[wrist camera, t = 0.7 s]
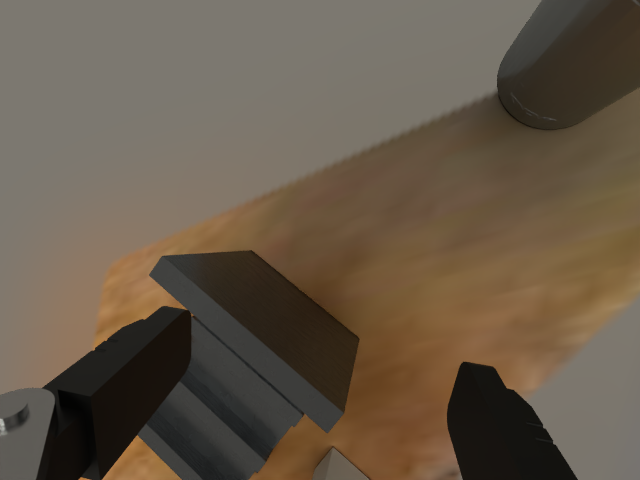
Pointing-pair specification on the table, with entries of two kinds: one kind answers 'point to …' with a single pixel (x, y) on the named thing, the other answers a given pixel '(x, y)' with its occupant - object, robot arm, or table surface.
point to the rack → (245, 366)
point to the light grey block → (337, 468)
